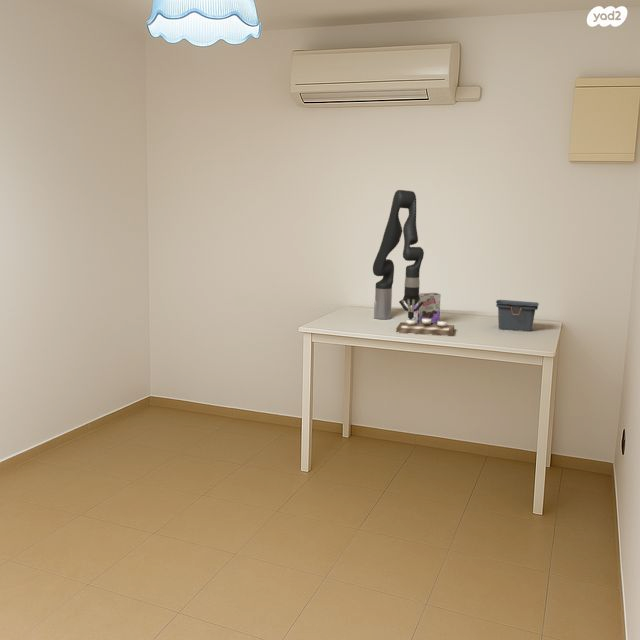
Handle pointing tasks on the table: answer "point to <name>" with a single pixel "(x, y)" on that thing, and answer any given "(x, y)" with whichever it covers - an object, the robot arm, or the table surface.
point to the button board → (425, 329)
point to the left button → (410, 322)
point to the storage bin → (516, 314)
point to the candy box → (428, 308)
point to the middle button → (426, 320)
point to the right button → (442, 323)
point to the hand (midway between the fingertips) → (410, 318)
